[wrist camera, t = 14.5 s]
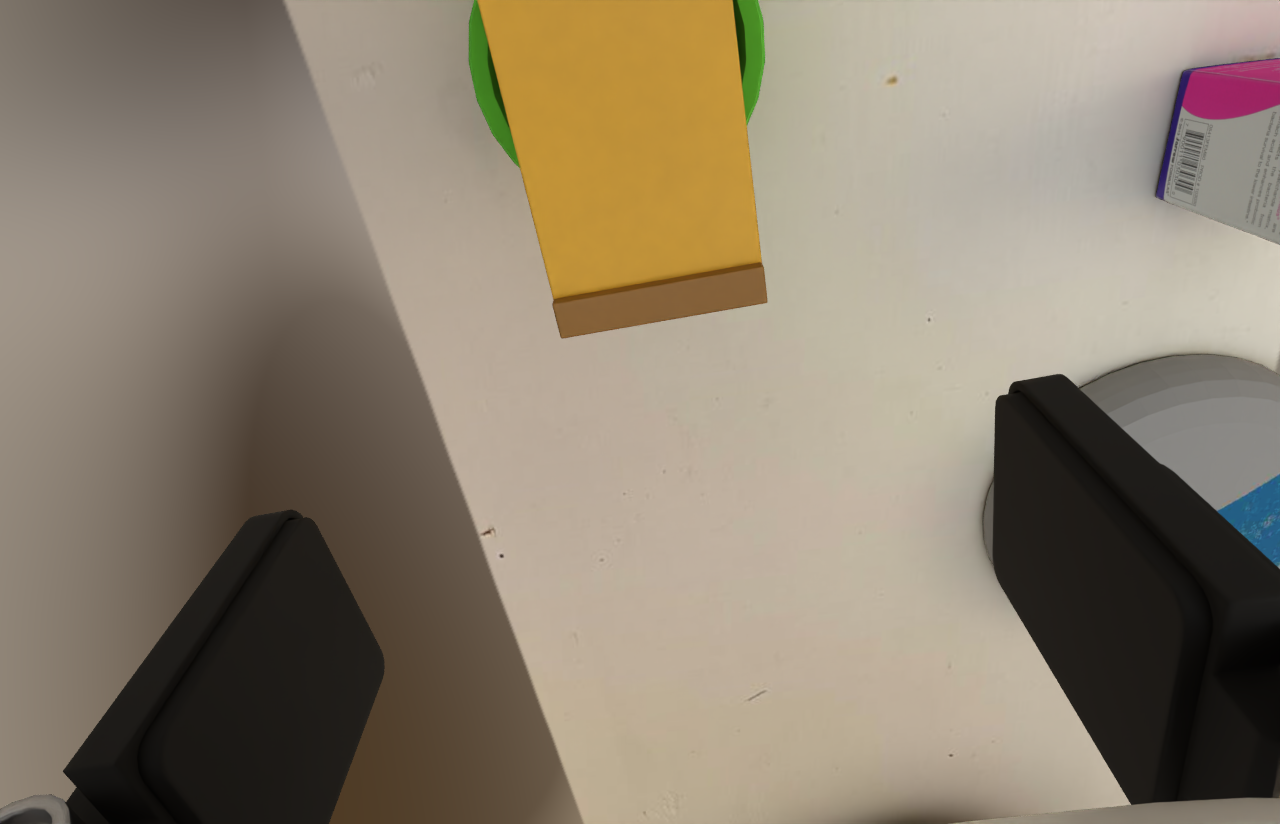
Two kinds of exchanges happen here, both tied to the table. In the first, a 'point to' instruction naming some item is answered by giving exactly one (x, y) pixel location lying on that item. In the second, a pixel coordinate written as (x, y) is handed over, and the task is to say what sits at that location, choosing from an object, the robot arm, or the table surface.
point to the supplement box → (1227, 146)
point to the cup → (492, 102)
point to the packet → (631, 155)
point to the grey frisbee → (1202, 434)
